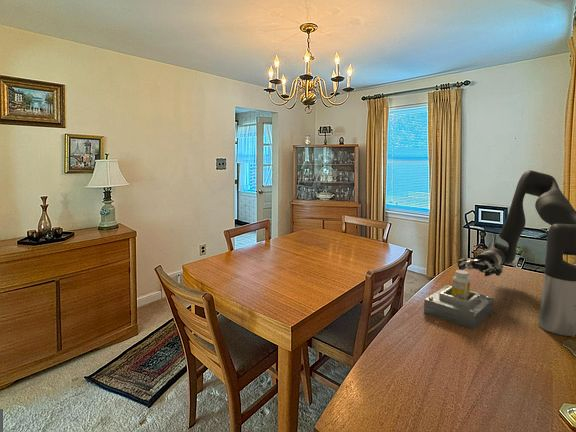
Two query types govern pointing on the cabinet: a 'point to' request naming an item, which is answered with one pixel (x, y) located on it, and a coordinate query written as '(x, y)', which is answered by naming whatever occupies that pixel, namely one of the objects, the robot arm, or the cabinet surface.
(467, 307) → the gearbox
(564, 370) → the cabinet surface
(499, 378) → the cabinet surface
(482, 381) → the cabinet surface
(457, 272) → the supplement bottle
